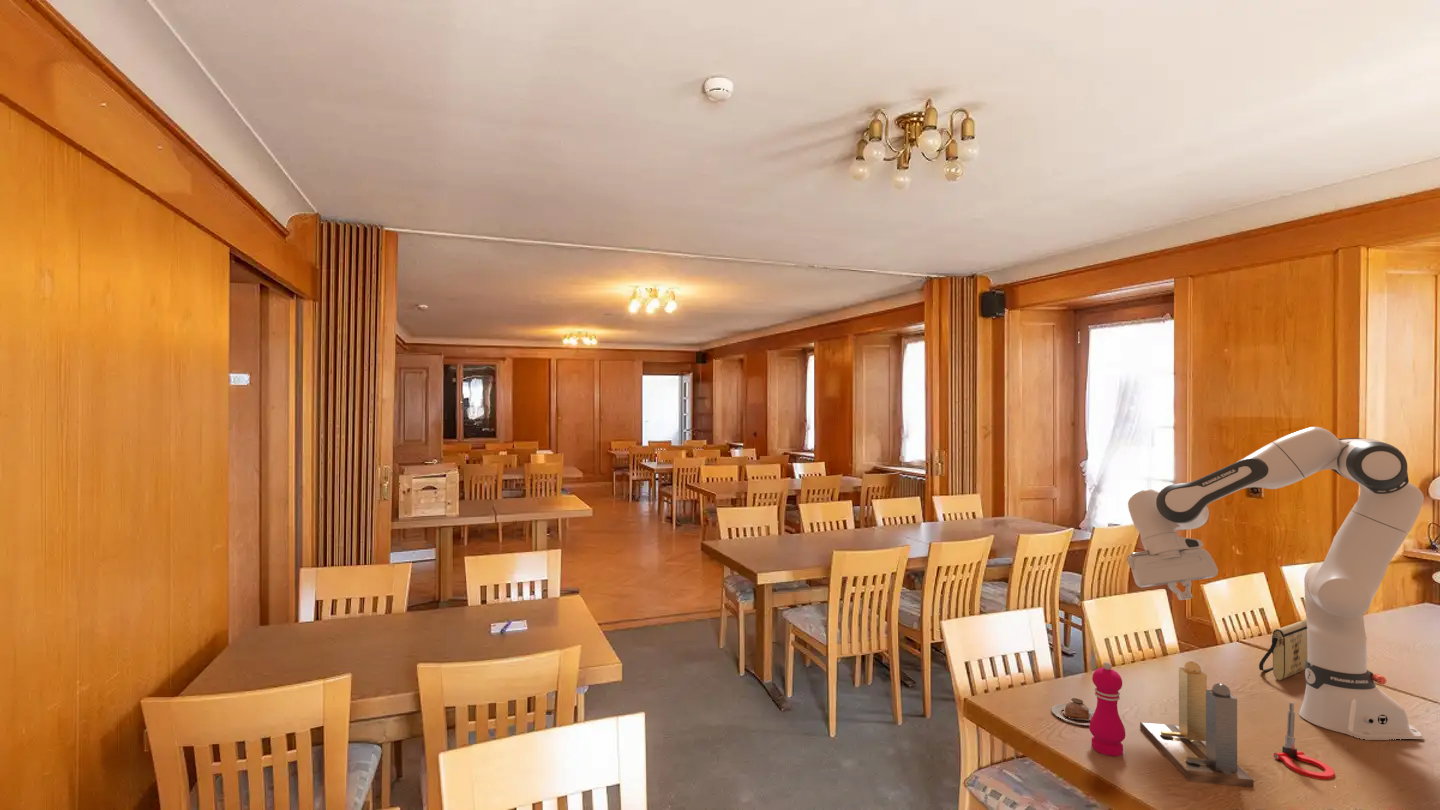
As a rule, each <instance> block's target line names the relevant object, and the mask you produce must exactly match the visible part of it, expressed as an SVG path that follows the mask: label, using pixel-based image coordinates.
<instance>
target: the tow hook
mask: <svg viewBox="0 0 1440 810" xmlns="http://www.w3.org/2000/svg"><path fill="white" fill-rule="evenodd" d="M1288 706H1289V707H1288V710H1287V723H1286V725H1287V728H1286V729H1287V730H1286V734H1285V736H1284V737H1285V738H1284V739H1285V740H1284V741H1285V743H1284V744H1285V745H1282V750H1281V751H1282V752H1274V753H1273V758H1274V759H1275V760H1277V761H1282V762H1283V763H1284V765H1285V766H1286V767H1287V768H1289V769H1290V770H1292V771H1294V772H1295V773H1298V774H1301V775H1302V776H1306V777H1310V778H1314V779H1319V780H1332V779H1334V778H1335V776H1336V775H1335V774H1336V773H1335V770H1334V769H1333V768H1332V767H1331V766H1329V764H1327V763H1325V762H1323V761H1321V760H1318V759H1316V758H1313V757H1310V756H1308V755H1306V754H1305V753H1304V752H1303V751H1301V750H1298V749H1297V748H1296V747H1295V746H1296V738H1295V721H1296V719H1295V717H1296V714H1295V713H1296V712H1295V711H1294V710H1295V703H1294V702H1292V701H1289V705H1288ZM1293 760H1298V761H1300V762H1303V763H1304V762H1305V763H1308V764H1311V765H1314V766H1317V767H1318V768H1320V769H1321V770H1322V771H1312V770H1309V769H1305V768H1303V767H1301V766H1298V764H1296V763H1294V761H1293ZM1333 777H1334V778H1333ZM1331 778H1332V779H1331Z"/></svg>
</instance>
